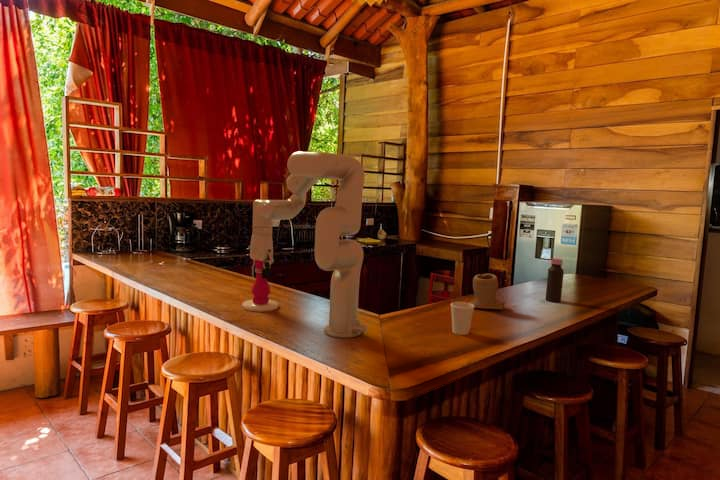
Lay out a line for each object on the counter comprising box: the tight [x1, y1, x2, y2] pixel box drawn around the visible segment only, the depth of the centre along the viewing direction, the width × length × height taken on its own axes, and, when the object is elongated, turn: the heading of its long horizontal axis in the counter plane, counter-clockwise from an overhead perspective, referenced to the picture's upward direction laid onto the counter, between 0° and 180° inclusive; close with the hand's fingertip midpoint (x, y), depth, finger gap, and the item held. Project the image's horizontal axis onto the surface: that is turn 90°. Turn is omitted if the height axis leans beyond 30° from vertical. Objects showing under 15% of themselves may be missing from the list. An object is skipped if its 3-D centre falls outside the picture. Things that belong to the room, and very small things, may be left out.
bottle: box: [545, 258, 565, 303], centre depth 225 cm, size 7×7×20 cm
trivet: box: [241, 299, 279, 313], centre depth 188 cm, size 14×14×2 cm
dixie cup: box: [450, 301, 475, 336], centre depth 167 cm, size 8×8×10 cm
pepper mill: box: [251, 259, 271, 304], centre depth 187 cm, size 7×7×20 cm
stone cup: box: [468, 273, 506, 311], centre depth 203 cm, size 15×12×15 cm
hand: (261, 276), depth 187 cm, fingers open, 5 cm apart
